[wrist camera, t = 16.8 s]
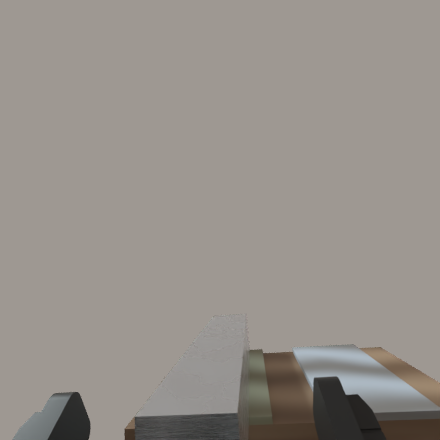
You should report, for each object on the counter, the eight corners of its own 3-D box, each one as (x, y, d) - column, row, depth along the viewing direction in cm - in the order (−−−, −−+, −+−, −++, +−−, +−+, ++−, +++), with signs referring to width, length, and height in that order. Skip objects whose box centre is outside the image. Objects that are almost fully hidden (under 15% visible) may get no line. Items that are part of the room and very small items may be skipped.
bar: (247, 536, 9) (237, 412, 10) (137, 536, 9) (134, 416, 10) (249, 348, 31) (246, 313, 31) (216, 350, 31) (213, 315, 32)
